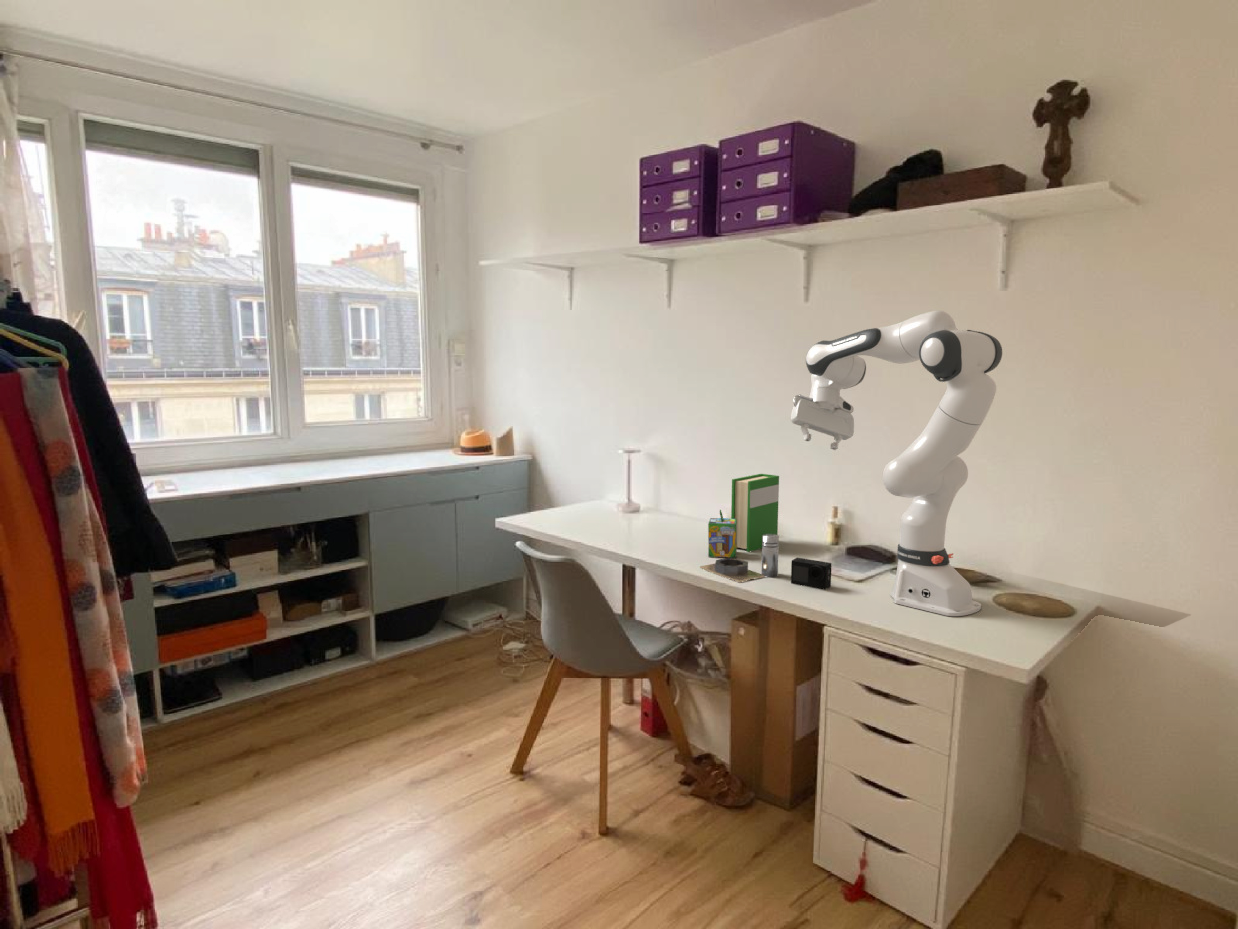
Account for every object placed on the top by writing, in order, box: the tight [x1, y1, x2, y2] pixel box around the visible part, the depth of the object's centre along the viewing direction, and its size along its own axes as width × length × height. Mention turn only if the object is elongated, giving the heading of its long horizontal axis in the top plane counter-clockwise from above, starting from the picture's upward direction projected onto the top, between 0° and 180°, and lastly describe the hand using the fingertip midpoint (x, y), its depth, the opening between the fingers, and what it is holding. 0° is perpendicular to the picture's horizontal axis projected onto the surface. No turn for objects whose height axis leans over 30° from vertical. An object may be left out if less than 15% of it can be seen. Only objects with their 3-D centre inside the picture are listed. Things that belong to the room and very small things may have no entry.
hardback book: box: [730, 473, 780, 553], centre depth 254 cm, size 18×7×24 cm, turn 136°
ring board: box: [699, 557, 765, 583], centre depth 222 cm, size 18×10×3 cm, turn 33°
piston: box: [760, 534, 780, 578], centre depth 219 cm, size 5×5×12 cm
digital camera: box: [790, 557, 832, 591], centre depth 209 cm, size 10×5×7 cm, turn 53°
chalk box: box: [707, 509, 738, 559], centre depth 243 cm, size 9×9×15 cm
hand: (820, 444), depth 217 cm, fingers open, 8 cm apart
